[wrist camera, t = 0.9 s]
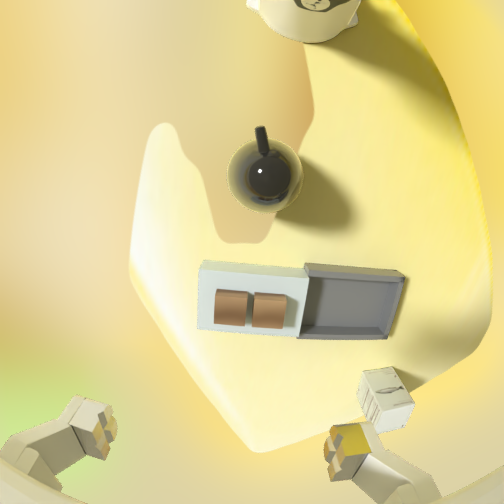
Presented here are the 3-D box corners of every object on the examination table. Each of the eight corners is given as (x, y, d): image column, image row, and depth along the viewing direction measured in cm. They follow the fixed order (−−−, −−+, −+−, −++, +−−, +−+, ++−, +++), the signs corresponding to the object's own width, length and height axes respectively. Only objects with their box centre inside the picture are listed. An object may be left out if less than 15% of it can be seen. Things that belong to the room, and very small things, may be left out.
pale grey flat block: (203, 259, 45) (198, 269, 41) (303, 268, 46) (309, 278, 41) (201, 315, 48) (197, 328, 44) (294, 323, 48) (298, 336, 44)
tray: (304, 262, 45) (309, 269, 42) (396, 270, 46) (405, 277, 43) (293, 328, 49) (296, 338, 45) (379, 329, 49) (387, 339, 46)
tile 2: (254, 291, 42) (254, 299, 39) (284, 294, 42) (287, 301, 40) (251, 318, 43) (251, 327, 41) (280, 320, 43) (282, 329, 41)
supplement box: (392, 365, 52) (417, 403, 40) (384, 390, 54) (404, 428, 42) (361, 369, 52) (382, 411, 40) (354, 395, 54) (371, 436, 42)
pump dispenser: (290, 135, 40) (311, 116, 26) (302, 202, 43) (329, 217, 28) (222, 147, 41) (208, 133, 26) (236, 214, 43) (229, 236, 29)
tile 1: (216, 288, 42) (214, 295, 39) (247, 291, 42) (247, 298, 39) (215, 315, 43) (213, 323, 41) (244, 318, 43) (244, 326, 41)
